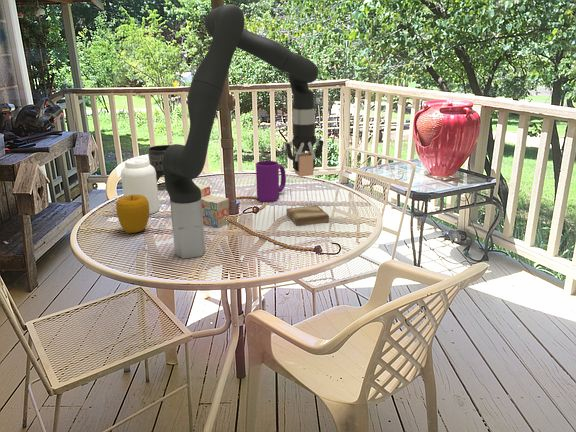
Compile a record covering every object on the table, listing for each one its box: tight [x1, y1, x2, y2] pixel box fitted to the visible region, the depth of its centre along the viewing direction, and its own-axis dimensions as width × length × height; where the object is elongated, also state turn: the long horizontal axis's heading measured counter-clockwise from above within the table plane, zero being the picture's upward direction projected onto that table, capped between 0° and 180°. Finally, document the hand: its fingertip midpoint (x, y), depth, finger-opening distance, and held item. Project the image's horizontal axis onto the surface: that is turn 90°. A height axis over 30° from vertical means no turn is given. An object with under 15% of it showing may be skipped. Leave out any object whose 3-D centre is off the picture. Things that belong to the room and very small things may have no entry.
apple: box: [115, 195, 150, 234], centre depth 169 cm, size 11×11×13 cm
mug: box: [255, 160, 287, 203], centre depth 203 cm, size 9×16×15 cm, turn 142°
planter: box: [147, 144, 172, 183], centre depth 217 cm, size 13×13×18 cm
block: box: [294, 152, 314, 177], centre depth 175 cm, size 5×5×7 cm
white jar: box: [120, 157, 160, 215], centre depth 187 cm, size 12×12×20 cm
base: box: [286, 205, 330, 227], centre depth 180 cm, size 12×12×3 cm
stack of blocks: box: [194, 182, 230, 229], centre depth 179 cm, size 21×6×12 cm, turn 53°
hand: (304, 169), depth 175 cm, fingers closed on block, 5 cm apart
